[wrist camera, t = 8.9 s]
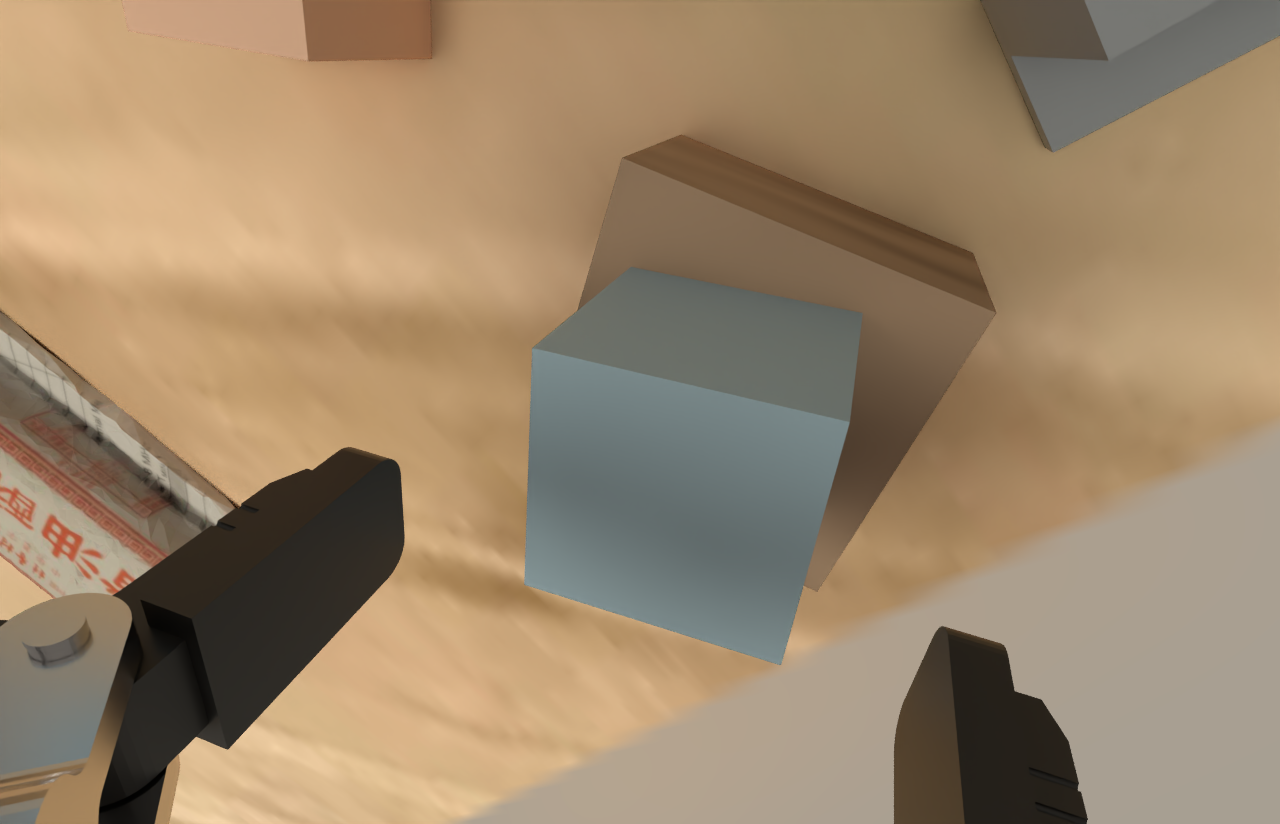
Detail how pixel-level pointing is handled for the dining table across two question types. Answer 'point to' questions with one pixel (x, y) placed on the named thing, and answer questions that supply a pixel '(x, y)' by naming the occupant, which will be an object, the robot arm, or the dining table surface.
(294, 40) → the terracotta block
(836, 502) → the walnut block
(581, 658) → the dining table surface
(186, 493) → the packaged product
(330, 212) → the dining table surface
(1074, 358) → the dining table surface
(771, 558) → the blue block
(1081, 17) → the display stand
